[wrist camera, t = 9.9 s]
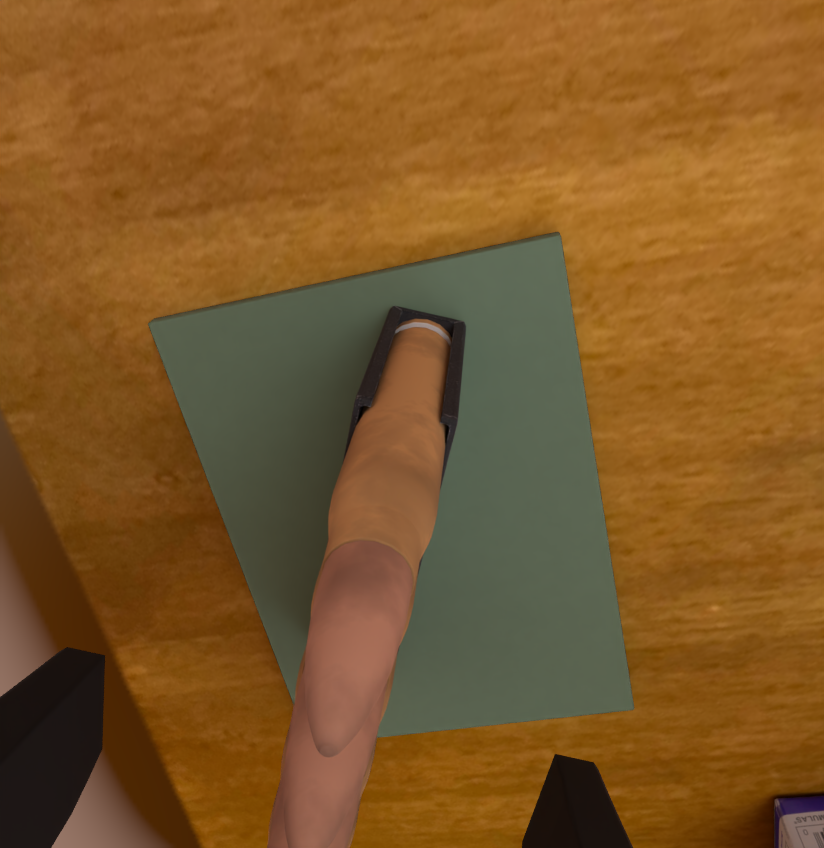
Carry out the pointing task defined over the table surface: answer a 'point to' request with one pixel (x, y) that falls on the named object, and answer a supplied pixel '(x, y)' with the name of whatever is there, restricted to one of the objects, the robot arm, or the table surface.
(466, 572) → the mat
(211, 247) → the table surface
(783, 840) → the supplement box
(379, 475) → the stripper clip of bullets
